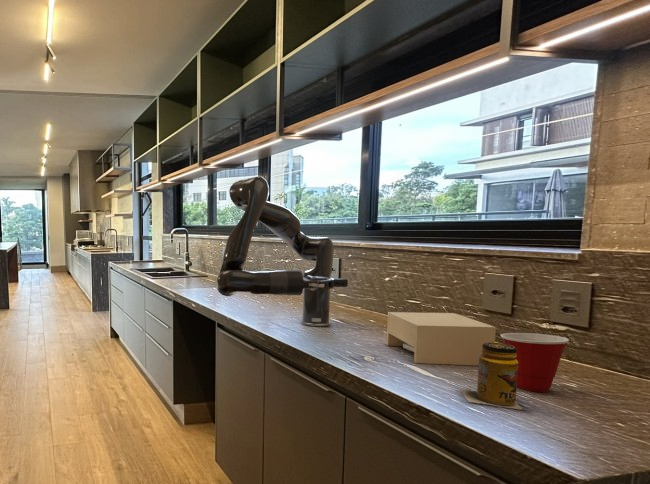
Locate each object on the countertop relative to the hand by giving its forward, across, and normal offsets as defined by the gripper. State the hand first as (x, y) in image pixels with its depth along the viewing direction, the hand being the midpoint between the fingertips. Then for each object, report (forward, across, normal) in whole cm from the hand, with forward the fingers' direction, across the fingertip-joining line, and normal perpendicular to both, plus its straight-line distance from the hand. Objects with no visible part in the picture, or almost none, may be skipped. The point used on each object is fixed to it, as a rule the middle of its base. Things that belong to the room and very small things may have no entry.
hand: (346, 282), depth 121 cm
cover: (+24, 0, +21) cm, 32 cm away
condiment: (+18, -33, +21) cm, 43 cm away
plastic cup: (+31, -24, +21) cm, 44 cm away
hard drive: (+23, 0, +21) cm, 31 cm away
